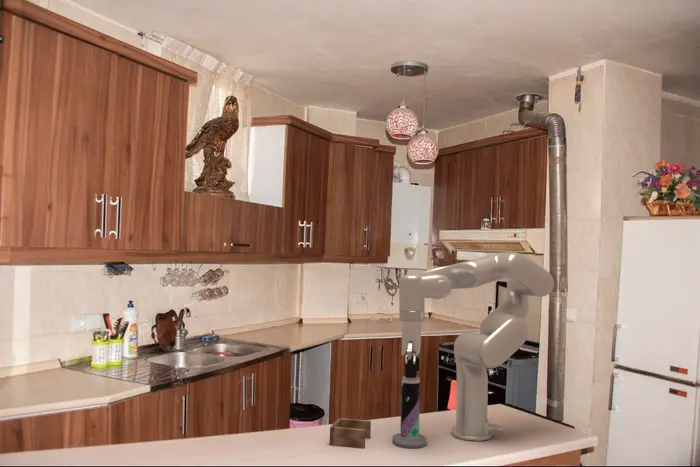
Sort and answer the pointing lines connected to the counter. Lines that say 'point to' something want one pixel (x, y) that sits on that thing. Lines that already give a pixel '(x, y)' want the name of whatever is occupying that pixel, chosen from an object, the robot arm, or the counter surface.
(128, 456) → the counter surface
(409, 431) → the spray can
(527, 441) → the counter surface
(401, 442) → the mat
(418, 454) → the counter surface
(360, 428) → the frame
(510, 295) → the robot arm
